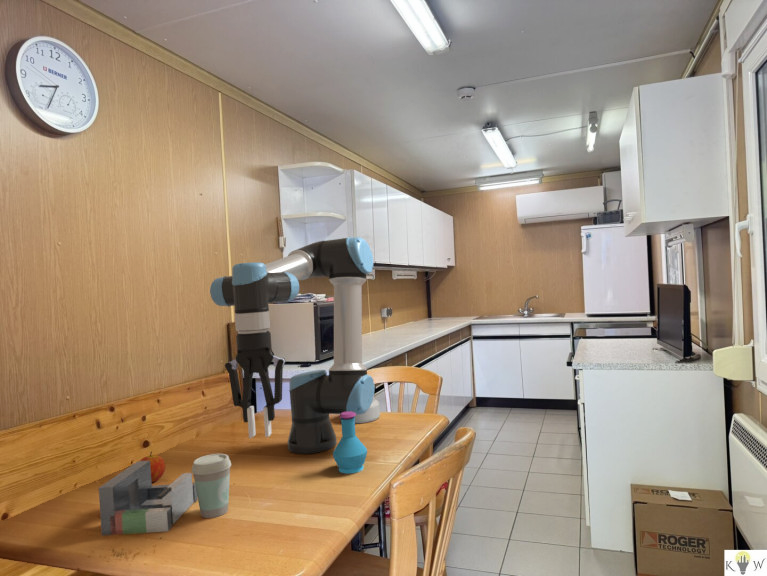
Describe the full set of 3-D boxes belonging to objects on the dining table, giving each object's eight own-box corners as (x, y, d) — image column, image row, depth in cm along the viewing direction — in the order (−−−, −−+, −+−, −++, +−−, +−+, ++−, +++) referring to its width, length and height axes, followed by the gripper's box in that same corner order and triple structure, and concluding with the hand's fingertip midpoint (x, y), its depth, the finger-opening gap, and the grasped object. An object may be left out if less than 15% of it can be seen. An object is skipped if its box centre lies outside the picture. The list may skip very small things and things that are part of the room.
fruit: (147, 488, 129) (145, 457, 129) (132, 484, 133) (130, 454, 133) (171, 478, 135) (169, 449, 135) (156, 475, 139) (154, 446, 139)
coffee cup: (222, 521, 107) (218, 466, 107) (186, 520, 108) (182, 465, 108) (241, 504, 115) (237, 452, 115) (207, 503, 117) (204, 452, 117)
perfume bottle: (373, 463, 136) (369, 409, 136) (360, 476, 127) (356, 417, 127) (342, 462, 139) (338, 408, 139) (328, 474, 130) (324, 417, 130)
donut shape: (342, 426, 176) (341, 407, 176) (337, 416, 191) (336, 399, 191) (383, 421, 179) (382, 403, 179) (376, 412, 194) (375, 395, 194)
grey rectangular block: (193, 502, 117) (191, 471, 117) (166, 531, 103) (164, 495, 103) (155, 504, 118) (153, 473, 118) (124, 533, 104) (121, 498, 104)
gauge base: (197, 499, 120) (195, 457, 120) (167, 531, 104) (164, 483, 104) (140, 502, 120) (137, 461, 120) (101, 535, 104) (98, 487, 104)
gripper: (292, 327, 115) (299, 428, 115) (223, 332, 116) (230, 433, 116) (285, 330, 108) (292, 438, 108) (211, 335, 108) (219, 443, 108)
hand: (260, 435), depth 112 cm, fingers open, 3 cm apart
